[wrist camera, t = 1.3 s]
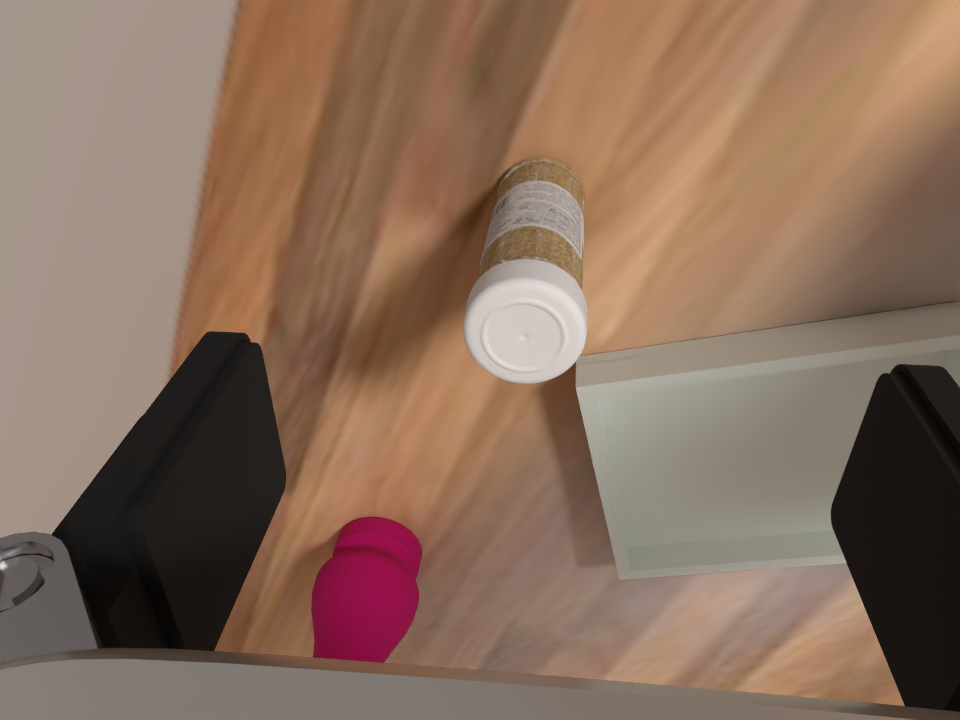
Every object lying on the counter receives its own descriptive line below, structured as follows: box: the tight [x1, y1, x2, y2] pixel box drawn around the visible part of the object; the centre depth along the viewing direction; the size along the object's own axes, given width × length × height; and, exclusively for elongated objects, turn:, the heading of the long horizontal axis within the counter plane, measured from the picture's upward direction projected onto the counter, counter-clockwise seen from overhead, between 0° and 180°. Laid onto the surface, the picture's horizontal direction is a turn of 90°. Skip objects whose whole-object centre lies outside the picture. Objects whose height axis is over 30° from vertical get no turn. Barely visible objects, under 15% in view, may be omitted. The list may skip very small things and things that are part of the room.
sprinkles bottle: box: [463, 156, 587, 384], centre depth 32 cm, size 5×5×13 cm
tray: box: [576, 301, 960, 580], centre depth 44 cm, size 20×16×3 cm
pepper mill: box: [311, 517, 422, 663], centre depth 46 cm, size 7×7×20 cm
